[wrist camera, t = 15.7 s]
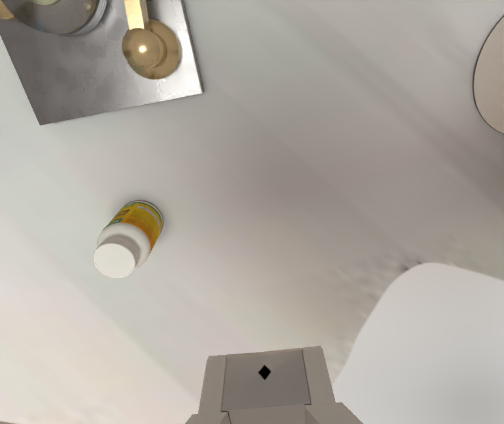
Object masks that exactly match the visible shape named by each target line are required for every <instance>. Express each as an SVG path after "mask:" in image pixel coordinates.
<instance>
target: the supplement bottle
mask: <svg viewBox="0 0 504 424" xmlns="http://www.w3.org/2000/svg"><path fill="white" fill-rule="evenodd" d="M162 227H163V220H162V216H161V214H160V212H159V211H158V209H157V208H156V207H154V206H153V205H152V204H150V203H148V202H144V201H134V202H130V203H128V204H126V205H125V206H124V207H123V208H122V209H121V210H120V211H119V212H118V214H117V215H116V216H115V217H114V218H113V219H112V221H111V222H110V223H109V224H108V225H107V226H106V227H105V228H104V229H103V231H102V232H101V234H100V236H99V238H98V243H97V246H98V248H97V249H96V251H95V253H94V256H93V260H94V264H95V266H96V268H97V269H98V270H99V271H100V272H101V273H102V274H104V275H105V276H108V277H111V278H124V277H126V276H128V275H130V274H131V273H132V272H133V270H134V269H135V268H137V267H139V266H141V265H142V264H143V263H144V262H145V261H146V260H147V258H148V256H149V255H150V252H151V250H152V248H153V246H154V244H155V242H156V240H157V238H158V237H159V235H160V233H161V230H162Z"/></svg>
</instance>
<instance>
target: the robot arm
mask: <svg viewBox="0 0 504 424" xmlns="http://www.w3.org/2000/svg"><path fill="white" fill-rule="evenodd" d="M474 95H475V100H476V104H477V107H478V109H479V112H480V113H481V115H482V117H483V118H484V120H485V121H486V122H487V123H488V124H489V125H490V126H491V127H493V128H494V129H496V130H497V131H499V132H501V133H503V134H504V17H503V18H502V19H501V20H500V22H499V23H498V24H497V25H496V27H495V28H494V29H493V31H492V32H491V34H490V35H489V37H488V39H487V41H486V43H485V44H484V46H483V49H482V51H481V53H480V56H479V59H478V62H477V66H476V70H475V77H474ZM185 424H363V423H362V422H361V421H360V420H359V419H358V418H357V417H356V416H355V415H354V414H353V413H352V412H351V411H350V410H349V409H348V408H347V407H346V406H345V405H344V404H343V403H342V402H340V403H335V399H334V394H333V391H332V386H331V382H330V378H329V374H328V370H327V366H326V362H325V358H324V354H323V349H322V348H321V346H315V347H305V348H302V349H301V348H295V349H285V350H275V351H266V352H257V353H242V354H228V355H218V356H209V358H208V360H207V363H206V369H205V375H204V381H203V387H202V393H201V399H200V405H199V411H198V414H194V415H192V416H191V417H190V418H189V419H188V421H187V422H186V423H185Z"/></svg>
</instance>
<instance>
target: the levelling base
mask: <svg viewBox="0 0 504 424" xmlns="http://www.w3.org/2000/svg"><path fill="white" fill-rule="evenodd" d="M146 6H147V12H148V18H149V19H154V20H157V21H159V22H161V23H163V24H165V25H166V26H168V27H169V28H170V29H171V30H172V31H173V33H174V34H175V36H176V37H177V39H178V42H179V45H180V52H181V54H180V61H179V64H178V66H177V68H176V70H175V71H174V72H173V73H172V74H171V75H169V76H168V77H166V78H163V79H157V80H152V79H147V78H144V77H142V76H140V75H138V74H137V73H136V72H135V71H134V70H133V69H132V68H131V67H130V66H129V64H128V62H127V60H126V58H125V57H124V55H123V52H122V39H123V37H124V35H125V34H126V32H127V30H128V28H129V25H128V19H127V14H126V9H125V4H124V0H0V35H1V37H2V40H3V42H4V44H5V47H6V49H7V51H8V53H9V56H10V58H11V60H12V63H13V65H14V67H15V69H16V72H17V74H18V76H19V79H20V81H21V83H22V85H23V88H24V90H25V92H26V95H27V97H28V99H29V101H30V104H31V106H32V108H33V111H34V113H35V115H36V117H37V120H38V122H39V124H40V125H44V124H49V123H54V122H59V121H64V120H69V119H74V118H79V117H84V116H89V115H95V114H100V113H105V112H110V111H115V110H120V109H125V108H130V107H135V106H140V105H145V104H150V103H155V102H160V101H165V100H170V99H175V98H180V97H185V96H190V95H195V94H200V93H203V92H204V88H203V84H202V80H201V75H200V71H199V67H198V62H197V58H196V54H195V49H194V45H193V41H192V36H191V32H190V28H189V23H188V19H187V15H186V10H185V6H184V2H183V0H146Z"/></svg>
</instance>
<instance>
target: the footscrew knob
mask: <svg viewBox="0 0 504 424" xmlns="http://www.w3.org/2000/svg"><path fill="white" fill-rule="evenodd" d="M124 4H125V9H126V14H127V19H128V25H129V28H128V30H127V32H126V34H125V35H124V37H123V39H122V52H123V55H124V57H125V58H126V60H127V62H128V64H129V66H130V67H131V68H132V69H133V70H134V71H135V72H136V73H137V74H138V75H140V76H142V77H144V78H147V79H152V80H157V79H163V78H166V77H168V76H169V75H171V74H172V73H173V72H174V71H175V70H176V68H177V66H178V64H179V61H180V54H181V52H180V45H179V42H178V39H177V37H176V36H175V34H174V33H173V31H172V30H171V29H170V28H169V27H168V26H166V25H165V24H163V23H161V22H159V21H157V20H154V19H149V18H148V12H147V6H146V0H124Z"/></svg>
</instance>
